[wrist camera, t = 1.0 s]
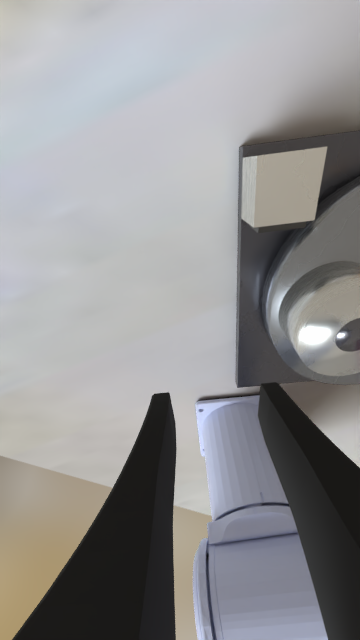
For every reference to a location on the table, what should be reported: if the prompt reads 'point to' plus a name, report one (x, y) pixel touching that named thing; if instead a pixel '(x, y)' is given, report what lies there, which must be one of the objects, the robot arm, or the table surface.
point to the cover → (325, 318)
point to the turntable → (313, 266)
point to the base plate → (279, 231)
